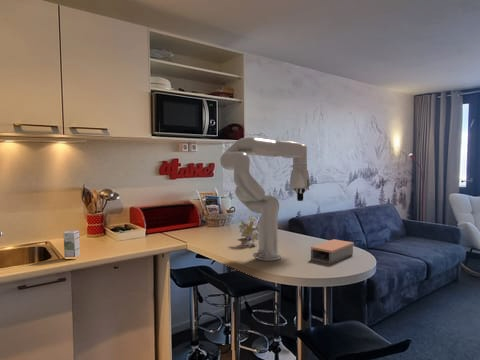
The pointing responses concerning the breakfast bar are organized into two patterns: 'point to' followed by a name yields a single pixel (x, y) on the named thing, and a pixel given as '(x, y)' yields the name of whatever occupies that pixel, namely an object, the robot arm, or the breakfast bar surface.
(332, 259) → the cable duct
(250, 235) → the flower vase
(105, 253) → the breakfast bar surface
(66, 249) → the syrup box
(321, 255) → the grey plastic bar
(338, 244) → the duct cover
